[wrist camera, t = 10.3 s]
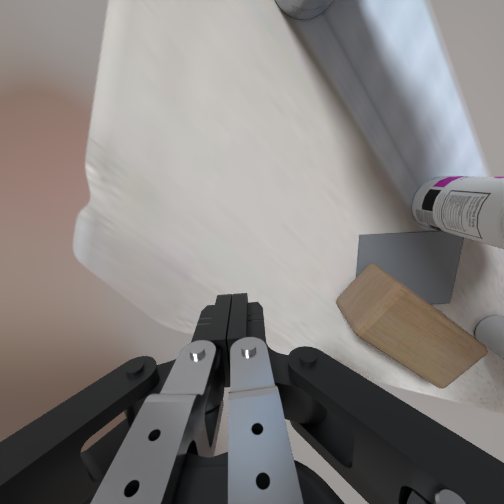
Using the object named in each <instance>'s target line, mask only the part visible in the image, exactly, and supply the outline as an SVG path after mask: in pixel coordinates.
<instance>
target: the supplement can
mask: <svg viewBox="0 0 504 504" xmlns="http://www.w3.org/2000/svg"><path fill="white" fill-rule="evenodd" d="M412 213H413V215H414V217H415V220H417V221H418V222H419V223H420V224H421V225H424V226H427V227H430V228H433V229H437V230H440V231H443V232H447V233H450V234H454V235H457V236H461V237H464V238H467V239H471V240H474V241H478V242H481V243H485V244H488V245H492V246H495V247H498V248H502V249H504V177H464V176H443V177H436V178H433V179H431V180H428V181H427V182H426V183H425V184H423V185H422V186H421V187H420V188H419V190H418V191H417V193H416V194H415V196H414V199H413V202H412Z"/></svg>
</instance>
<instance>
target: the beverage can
mask: <svg viewBox="0 0 504 504" xmlns="http://www.w3.org/2000/svg"><path fill="white" fill-rule="evenodd" d="M475 336H476V338H477V340H478V341H480V342H481V343H482V344H484V345H485V346H486V347H488V348H489V349H490V350H492V351H493V352H495V353H496V354H497V355H499V356H500V357H502V358H503V359H504V317H503V316H499V315H495V316H490V317H487V318H484V319H483V320H482V321H480V322H479V324H478V325H477V327H476V331H475Z"/></svg>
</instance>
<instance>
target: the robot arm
mask: <svg viewBox="0 0 504 504" xmlns="http://www.w3.org/2000/svg"><path fill="white" fill-rule="evenodd" d="M275 1H276V2H277V4H278V6H279V7H280V8H281V9H282V10H283V11H284V12H285V13H286V14H288V15H289V16H291V17H294V18H297V19H309V18H313V17H315V16H317V15H319V14H321V13H322V12H323V11H325V10H326V8H327V7H328V6H329V5H330V4H331V2H332V1H333V0H275ZM224 387H230V392H229V397H228V401H229V402H228V407H229V408H228V452H226V453H223V454H221V455H218V456H215V457H214V453H215V448H216V442H217V437H218V432H219V427H220V421H221V416H222V411H223V396H224ZM123 411H124V413H125V416H126V419H125V420H123V421H122V422H121V423H120V424H118V425H117V426H116V427H115V428H113V429H112V430H111V431H110V432H108V433H107V434H106V435H105V436H103V437H102V438H101V439H100V440H99V441H97V442H96V443H95V444H94V445H92V446H91V447H90V448H89V449H87V450H86V451H84V452H81V448H82V446H83V445H84V443H85V442H86V441H87V440H88V439H89V438H90V437H91V436H92V435H94V434H95V433H96V432H97V431H99V430H100V429H101V428H103V427H104V426H105V425H106V424H108V423H109V422H110V421H112V420H113V419H114V418H115V417H116V416H118V415H119V414H120V413H122V412H123ZM285 419H287V420H290V422H291V425H292V427H293V428H294V429H295V430H296V431H297V432H298V433H299V434H300V435H301V436H302V437H303V438H304V439H305V440H306V441H307V442H308V443H309V444H310V445H311V446H312V447H313V448H314V449H315V450H316V451H317V452H318V453H319V454H320V455H321V456H322V457H323V458H324V459H325V460H326V461H327V462H328V463H329V464H330V465H331V466H332V467H333V468H334V469H335V470H336V471H337V472H338V473H339V474H340V475H341V476H342V477H343V478H344V479H345V480H346V481H347V482H348V483H349V484H350V485H351V486H352V487H353V488H354V489H355V490H356V491H357V492H358V493H359V494H360V495H361V496H362V497H363V498H364V499H365V500H366V501H367V502H368V503H369V504H504V463H503V462H501V461H499V460H498V459H496V458H494V457H493V456H491V455H489V454H488V453H486V452H485V451H483V450H481V449H480V448H478V447H477V446H475V445H473V444H472V443H470V442H469V441H466V440H465V439H463V438H462V437H460V436H459V435H457V434H455V433H454V432H452V431H450V430H449V429H447V428H446V427H444V426H442V425H441V424H439V423H438V422H436V421H434V420H433V419H431V418H429V417H428V416H426V415H425V414H423V413H421V412H419V411H418V410H416V409H415V408H413V407H411V406H410V405H408V404H407V403H405V402H403V401H402V400H400V399H398V398H397V397H395V396H394V395H392V394H390V393H389V392H387V391H385V390H384V389H382V388H380V387H379V386H377V385H376V384H374V383H372V382H371V381H369V380H367V379H366V378H364V377H363V376H361V375H359V374H358V373H356V372H354V371H353V370H351V369H350V368H348V367H346V366H345V365H343V364H341V363H340V362H338V361H336V360H335V359H333V358H332V357H330V356H328V355H327V354H325V353H323V352H322V351H320V350H318V349H316V348H313V347H306V346H304V347H298V348H296V349H294V350H292V351H291V352H290V354H289V355H284V354H280V353H277V352H275V351H273V350H271V349H270V348H269V347H268V345H267V343H266V337H265V327H264V316H263V307H262V306H261V305H260V304H259V303H258V302H252V303H248V296H247V293H241V294H233V296H232V294H227V295H218V296H217V299H216V303H215V305H207V306H206V307H205V308H204V309H203V310H202V311H201V314H200V317H199V320H198V323H197V326H196V329H195V332H194V335H193V338H192V341H191V343H189V344H187V345H186V346H185V347H184V348H182V350H181V351H180V353H179V355H178V357H177V359H175V360H173V361H170V362H167V363H163V364H160V365H156V361H155V360H154V359H153V358H152V357H148V356H142V357H137V358H134V359H131V360H129V361H128V362H126V363H124V364H123V365H121V366H120V367H118V368H117V369H115V370H113V371H112V372H110V373H109V374H107V375H106V376H104V377H102V378H101V379H99V380H97V381H96V382H95V383H93V384H91V385H90V386H88V387H87V388H85V389H84V390H82V391H80V392H79V393H77V394H76V395H74V396H72V397H71V398H69V399H68V400H66V401H65V402H63V403H61V404H60V405H58V406H57V407H55V408H54V409H52V410H50V411H49V412H47V413H46V414H44V415H42V416H41V417H39V418H38V419H36V420H34V421H33V422H31V423H30V424H28V425H27V426H25V427H23V428H22V429H20V430H19V431H17V432H16V433H14V434H13V435H11V436H9V437H8V438H6V439H5V440H3V441H1V442H0V504H344V502H343V501H342V500H341V499H340V498H339V497H338V496H337V495H336V493H335V492H334V491H333V490H332V489H331V488H330V486H328V484H327V483H326V482H325V481H324V480H323V479H322V478H321V477H320V476H319V475H318V474H316V473H315V472H314V471H313V470H311V469H310V468H308V467H307V466H305V465H303V464H302V463H299V462H298V461H295V460H294V458H293V454H292V450H291V445H290V441H289V436H288V431H287V427H286V422H285ZM80 452H81V453H80Z"/></svg>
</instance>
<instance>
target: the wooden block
mask: <svg viewBox="0 0 504 504" xmlns="http://www.w3.org/2000/svg"><path fill="white" fill-rule="evenodd" d="M336 304H337V305H338V307H339V308H340V310H341V312H342V313H343V315H344V316H345V318H346V319H347V321H348V322H349V324H350V326H351V327H352V329H353V330H354V332H355V333H356V334H357V335H358V336H360V337H361V338H363V339H364V340H366V341H367V342H369V343H370V344H372V345H373V346H375V347H376V348H378V349H380V350H381V351H383V352H384V353H386V354H387V355H389V356H390V357H392V358H393V359H395V360H396V361H398V362H399V363H401V364H403V365H404V366H406V367H407V368H409V369H410V370H412V371H413V372H415V373H416V374H418V375H419V376H421V377H422V378H424V379H426V380H427V381H429V382H430V383H432V384H433V385H435V386H436V387H438V388H445V387H447V386H448V385H449V384H450V383H452V382H453V381H454V380H455V379H457V378H458V377H459V376H460V375H462V374H463V373H464V372H465V371H466V370H468V369H469V368H470V367H471V366H473V365H474V364H475V363H476V362H478V361H479V360H480V359H481V358H483V357H484V356H485V355H486V354H487V352H488V351H487V349H486V347H485V345H483V344H482V343H481V342H480V341H478V340H477V339H476V338H474V337H473V336H472V335H470V334H469V333H468V332H466V331H465V330H464V329H462V328H461V327H460V326H458V325H457V324H456V323H454V322H453V321H452V320H450V319H449V318H448V317H446V316H445V315H444V314H442V313H441V312H440V311H438V310H437V309H436V308H434V307H433V306H432V305H430V304H429V303H428V302H426V301H425V300H424V299H422V298H421V297H420V296H418V295H417V294H416V293H414V292H413V291H412V290H410V289H409V288H408V287H406V286H405V285H404V284H402V283H401V282H400V281H398V280H397V279H396V278H394V277H393V276H392V275H390V274H389V273H388V272H386V271H385V270H384V269H382V268H381V267H380V266H378V265H377V264H372V263H371V264H369V265H368V266H367V267H366V268H365V269H364V270H363V271H362V272H361V273H360V274H359V275H358V276H357V278H356V279H355V280H354V281H353V282H352V283H351V284H350V285H349V286H348V287H347V288H346V289H345V291H344V292H343V293H342V294H341V295H340V296H339V297H338V298H337V300H336Z"/></svg>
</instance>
